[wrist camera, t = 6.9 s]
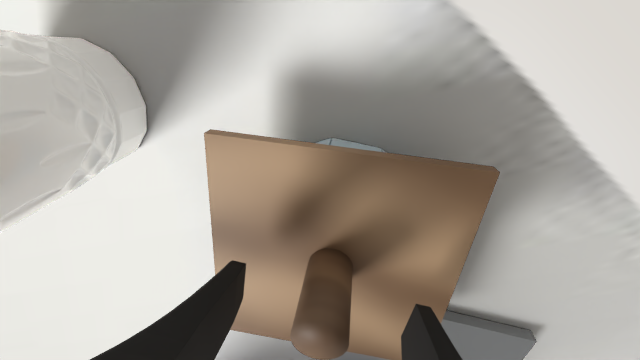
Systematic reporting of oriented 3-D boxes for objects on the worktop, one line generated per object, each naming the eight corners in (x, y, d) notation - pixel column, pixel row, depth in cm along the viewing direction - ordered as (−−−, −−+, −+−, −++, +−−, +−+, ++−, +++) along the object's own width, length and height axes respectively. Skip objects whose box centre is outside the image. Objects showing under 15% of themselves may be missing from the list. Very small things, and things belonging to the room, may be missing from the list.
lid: (422, 355, 17) (441, 455, 13) (223, 319, 18) (183, 401, 14) (493, 166, 12) (561, 232, 8) (210, 129, 13) (139, 170, 9)
